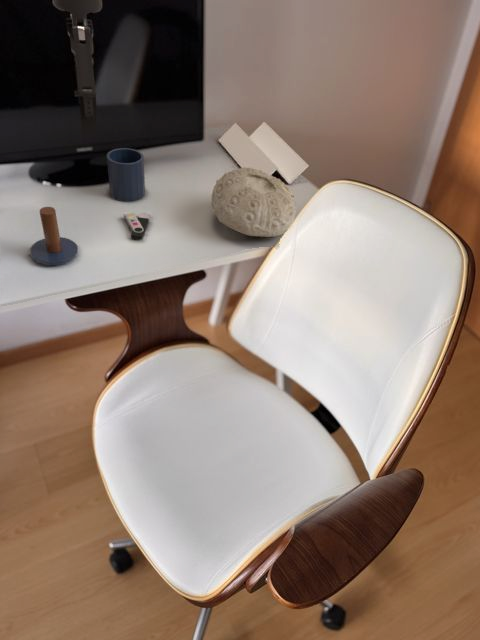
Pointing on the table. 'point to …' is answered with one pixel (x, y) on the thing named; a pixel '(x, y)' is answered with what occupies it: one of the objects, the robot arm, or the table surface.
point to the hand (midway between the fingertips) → (88, 118)
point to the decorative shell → (253, 203)
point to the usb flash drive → (137, 224)
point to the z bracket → (263, 152)
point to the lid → (52, 242)
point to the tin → (126, 174)
